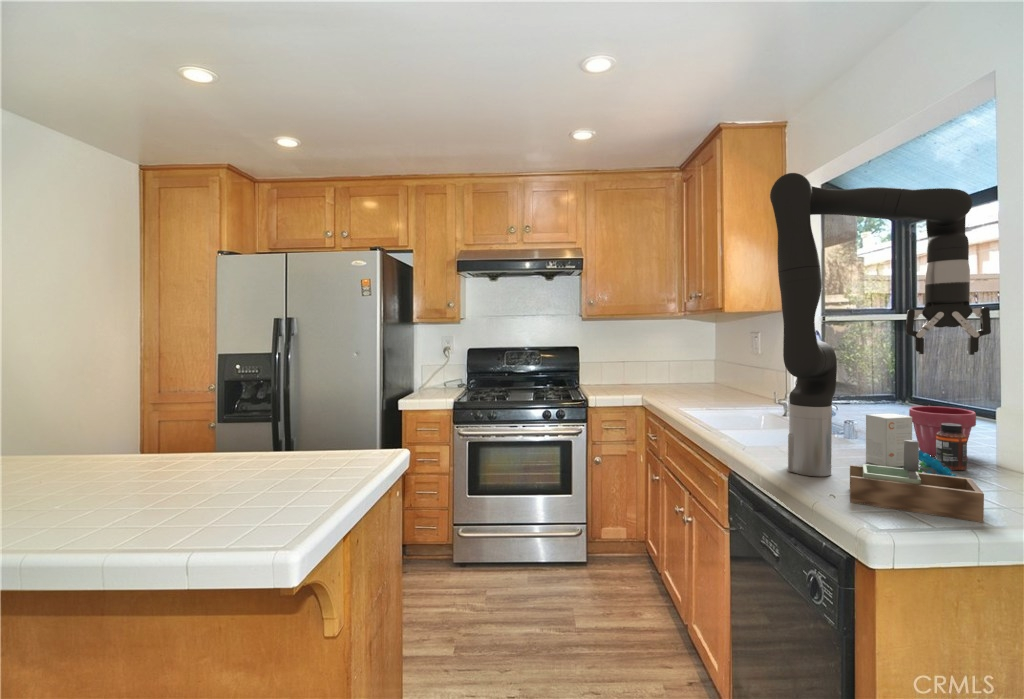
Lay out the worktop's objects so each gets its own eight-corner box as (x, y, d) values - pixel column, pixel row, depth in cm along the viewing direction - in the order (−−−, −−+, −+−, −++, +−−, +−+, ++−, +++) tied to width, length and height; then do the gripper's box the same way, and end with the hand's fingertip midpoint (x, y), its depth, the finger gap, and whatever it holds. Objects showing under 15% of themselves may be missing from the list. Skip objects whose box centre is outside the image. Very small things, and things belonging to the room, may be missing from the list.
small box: (890, 459, 135) (891, 412, 134) (912, 466, 128) (913, 416, 128) (864, 461, 133) (865, 414, 133) (885, 468, 127) (886, 418, 127)
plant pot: (934, 461, 133) (935, 414, 132) (896, 448, 147) (897, 406, 146) (990, 461, 132) (991, 413, 132) (946, 448, 146) (947, 405, 146)
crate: (863, 496, 103) (864, 440, 102) (862, 486, 109) (863, 433, 109) (920, 504, 97) (921, 445, 97) (915, 493, 104) (916, 438, 104)
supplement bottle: (963, 466, 127) (964, 423, 127) (969, 472, 122) (970, 427, 122) (933, 463, 130) (934, 421, 130) (938, 469, 125) (938, 425, 125)
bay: (850, 502, 103) (850, 476, 103) (849, 488, 112) (850, 464, 112) (983, 522, 91) (984, 493, 91) (970, 504, 100) (971, 478, 100)
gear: (972, 484, 108) (931, 450, 111) (950, 502, 109) (910, 467, 112) (947, 477, 118) (910, 445, 121) (926, 493, 119) (890, 461, 122)
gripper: (908, 283, 111) (907, 354, 112) (994, 278, 103) (993, 355, 104) (904, 285, 117) (903, 353, 118) (986, 281, 109) (985, 354, 110)
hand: (945, 354), depth 111 cm, fingers open, 8 cm apart
